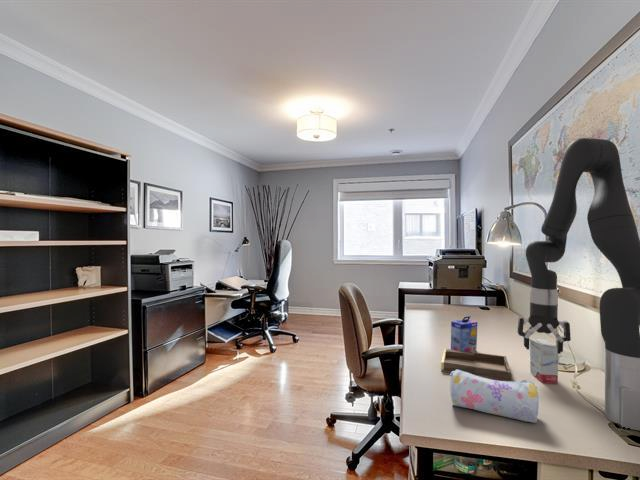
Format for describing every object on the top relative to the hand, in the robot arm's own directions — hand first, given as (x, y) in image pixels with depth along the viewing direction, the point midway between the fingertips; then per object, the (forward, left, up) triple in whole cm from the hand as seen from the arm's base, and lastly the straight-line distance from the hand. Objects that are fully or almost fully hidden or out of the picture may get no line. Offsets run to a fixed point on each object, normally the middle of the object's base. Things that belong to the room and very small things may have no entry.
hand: (542, 350), depth 108 cm
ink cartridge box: (+18, +24, -9) cm, 31 cm away
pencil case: (-31, +17, -9) cm, 37 cm away
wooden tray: (0, +20, -9) cm, 22 cm away
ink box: (0, 0, -9) cm, 9 cm away
